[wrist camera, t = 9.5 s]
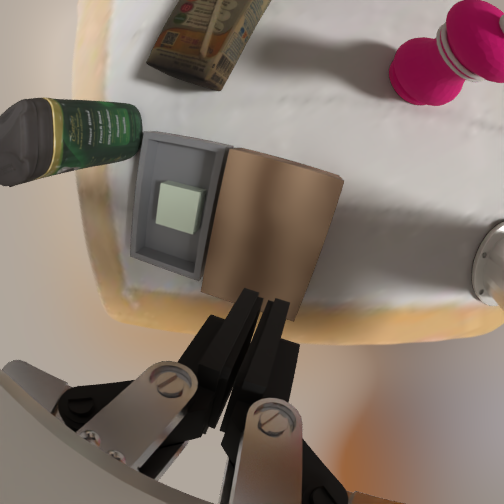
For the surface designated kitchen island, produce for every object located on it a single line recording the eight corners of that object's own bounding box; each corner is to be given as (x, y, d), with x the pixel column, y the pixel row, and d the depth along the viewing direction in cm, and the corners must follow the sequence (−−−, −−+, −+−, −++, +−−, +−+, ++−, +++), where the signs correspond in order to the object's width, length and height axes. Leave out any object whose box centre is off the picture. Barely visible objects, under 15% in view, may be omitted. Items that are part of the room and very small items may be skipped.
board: (338, 175, 29) (344, 181, 24) (296, 298, 35) (293, 321, 31) (242, 148, 30) (229, 148, 25) (214, 272, 36) (200, 291, 32)
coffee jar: (144, 97, 29) (24, 85, 12) (147, 157, 32) (27, 183, 15) (90, 113, 31) (-20, 121, 14) (93, 166, 34) (-15, 196, 17)
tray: (233, 146, 30) (225, 146, 27) (207, 270, 36) (198, 280, 34) (157, 131, 31) (144, 131, 28) (141, 248, 37) (130, 256, 34)
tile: (160, 182, 30) (168, 180, 32) (155, 223, 32) (163, 218, 34) (200, 192, 30) (206, 189, 32) (192, 234, 32) (199, 229, 34)
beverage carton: (293, -25, 20) (287, -54, 14) (224, 95, 28) (203, 85, 22) (234, -38, 20) (220, -64, 14) (168, 76, 28) (139, 66, 22)
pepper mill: (395, 113, 25) (505, 82, 6) (375, 53, 23) (444, -40, 4) (448, 107, 23) (571, 91, 4) (428, 50, 20) (525, -15, 2)
